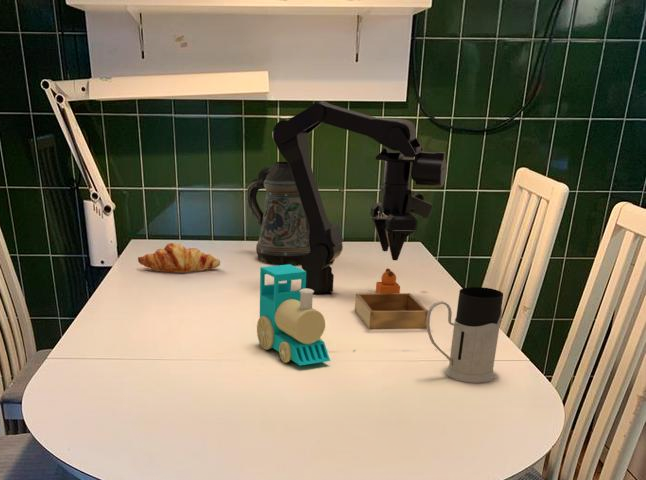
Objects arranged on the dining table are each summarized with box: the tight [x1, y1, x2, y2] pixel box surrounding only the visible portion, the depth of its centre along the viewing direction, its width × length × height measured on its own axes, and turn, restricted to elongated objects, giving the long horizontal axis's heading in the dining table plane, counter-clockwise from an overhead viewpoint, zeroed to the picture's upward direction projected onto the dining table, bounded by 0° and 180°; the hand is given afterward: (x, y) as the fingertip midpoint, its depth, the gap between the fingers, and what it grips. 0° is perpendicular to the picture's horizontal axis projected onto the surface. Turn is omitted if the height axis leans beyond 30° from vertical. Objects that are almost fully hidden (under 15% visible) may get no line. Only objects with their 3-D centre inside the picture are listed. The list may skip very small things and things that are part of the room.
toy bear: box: [375, 268, 401, 294], centre depth 189 cm, size 5×4×8 cm
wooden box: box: [354, 292, 429, 330], centre depth 176 cm, size 12×14×4 cm
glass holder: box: [426, 286, 504, 384], centre depth 145 cm, size 9×14×15 cm, turn 107°
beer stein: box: [246, 161, 310, 267], centre depth 221 cm, size 16×19×25 cm
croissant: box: [137, 242, 221, 273], centre depth 212 cm, size 21×10×8 cm
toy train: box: [256, 264, 331, 366], centre depth 153 cm, size 8×17×15 cm, turn 27°
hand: (389, 255), depth 186 cm, fingers open, 9 cm apart
